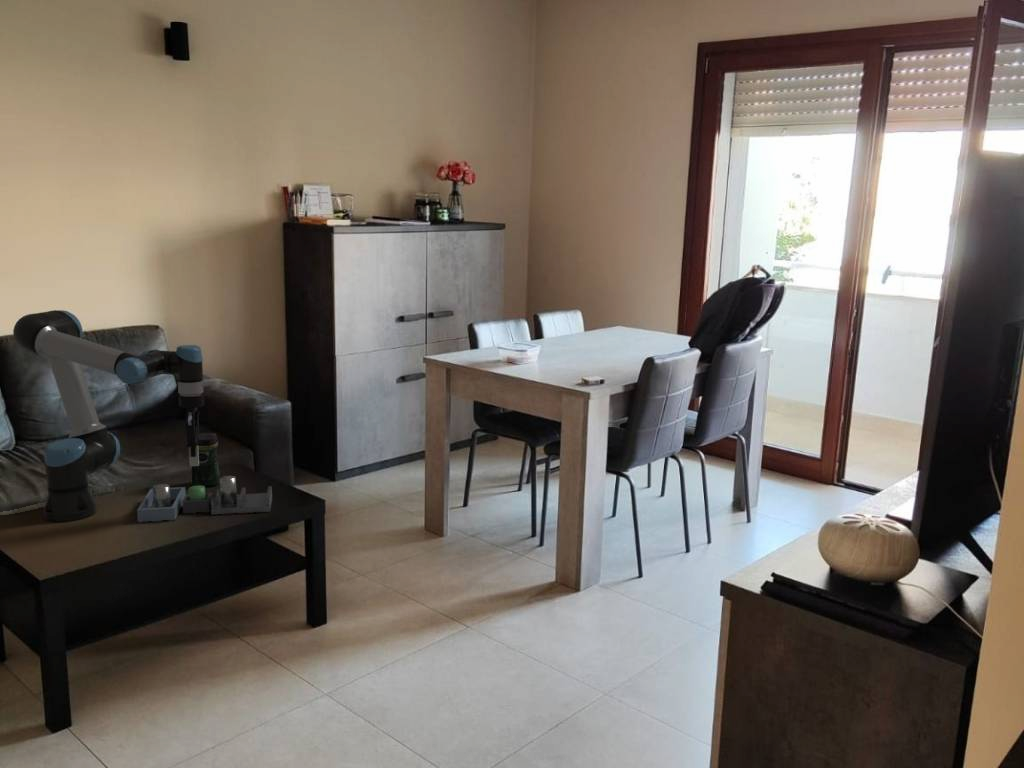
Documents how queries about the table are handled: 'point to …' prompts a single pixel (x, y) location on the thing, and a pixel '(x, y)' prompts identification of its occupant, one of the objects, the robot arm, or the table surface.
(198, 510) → the button housing
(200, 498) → the button
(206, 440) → the coffee jar
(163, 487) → the billet
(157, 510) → the tote
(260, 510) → the pallet
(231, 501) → the seated billet
